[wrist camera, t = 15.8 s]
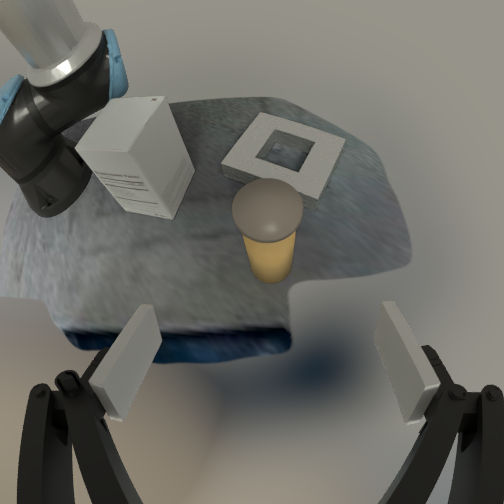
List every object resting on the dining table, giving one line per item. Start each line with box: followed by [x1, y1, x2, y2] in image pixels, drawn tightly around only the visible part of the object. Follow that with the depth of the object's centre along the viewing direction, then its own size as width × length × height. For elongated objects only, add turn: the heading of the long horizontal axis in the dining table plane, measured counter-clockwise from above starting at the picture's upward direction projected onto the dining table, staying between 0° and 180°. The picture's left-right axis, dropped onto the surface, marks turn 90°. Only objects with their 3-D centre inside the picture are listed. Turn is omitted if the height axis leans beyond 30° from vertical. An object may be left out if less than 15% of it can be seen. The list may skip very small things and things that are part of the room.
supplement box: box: [75, 96, 195, 220], centre depth 35 cm, size 9×9×15 cm
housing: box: [221, 112, 346, 211], centre depth 40 cm, size 14×12×3 cm
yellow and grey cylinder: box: [232, 178, 303, 283], centre depth 29 cm, size 6×6×13 cm
